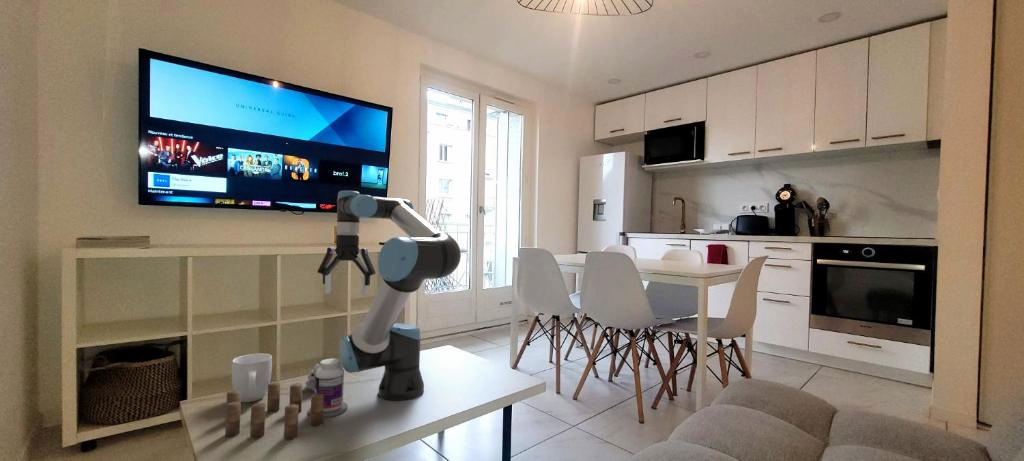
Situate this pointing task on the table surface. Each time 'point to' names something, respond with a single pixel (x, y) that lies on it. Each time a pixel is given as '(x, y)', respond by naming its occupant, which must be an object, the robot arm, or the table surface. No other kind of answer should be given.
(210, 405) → the table surface
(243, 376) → the mug
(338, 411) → the coaster
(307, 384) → the figurine
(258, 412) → the dowel posts
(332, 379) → the pill bottle
